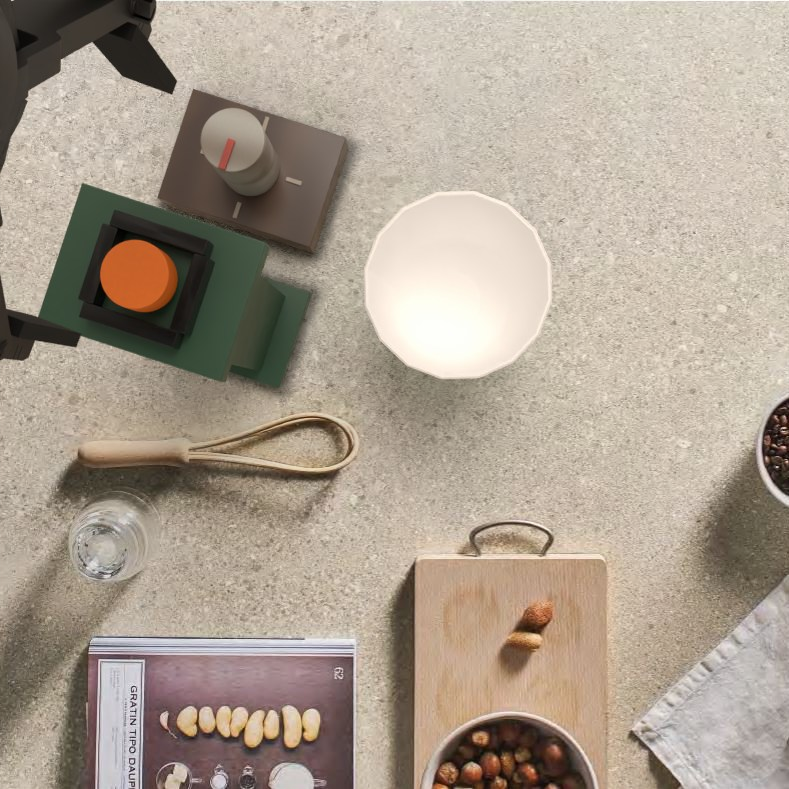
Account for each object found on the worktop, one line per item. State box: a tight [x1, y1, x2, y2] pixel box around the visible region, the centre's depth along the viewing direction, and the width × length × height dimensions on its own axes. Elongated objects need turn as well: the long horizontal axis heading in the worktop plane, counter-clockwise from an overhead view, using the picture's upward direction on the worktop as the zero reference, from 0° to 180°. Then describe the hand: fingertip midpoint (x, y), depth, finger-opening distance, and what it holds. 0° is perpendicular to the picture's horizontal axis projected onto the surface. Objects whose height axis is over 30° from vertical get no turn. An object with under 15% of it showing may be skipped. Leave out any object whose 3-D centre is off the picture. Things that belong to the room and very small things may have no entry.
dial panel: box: [157, 88, 349, 254], centre depth 77 cm, size 14×10×3 cm
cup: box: [362, 190, 553, 380], centre depth 71 cm, size 14×14×16 cm
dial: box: [201, 108, 280, 196], centre depth 72 cm, size 5×5×8 cm
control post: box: [37, 182, 313, 390], centre depth 66 cm, size 12×9×26 cm
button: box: [100, 240, 178, 312], centre depth 52 cm, size 4×4×2 cm
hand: (102, 205), depth 44 cm, fingers open, 13 cm apart
